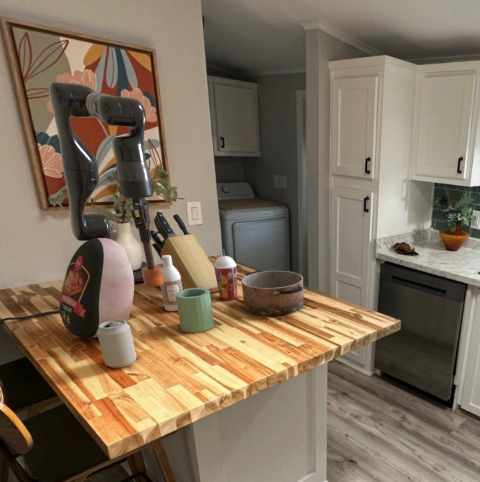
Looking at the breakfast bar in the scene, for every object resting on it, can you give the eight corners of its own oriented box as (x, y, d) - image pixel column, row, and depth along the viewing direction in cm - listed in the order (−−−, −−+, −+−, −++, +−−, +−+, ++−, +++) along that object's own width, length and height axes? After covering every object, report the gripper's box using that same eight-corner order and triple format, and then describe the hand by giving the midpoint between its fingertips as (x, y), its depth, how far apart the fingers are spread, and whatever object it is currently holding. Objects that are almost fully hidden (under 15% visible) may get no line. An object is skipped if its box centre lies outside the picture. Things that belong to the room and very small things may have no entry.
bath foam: (166, 313, 147) (156, 259, 140) (163, 306, 153) (154, 254, 145) (187, 309, 151) (178, 257, 143) (184, 303, 156) (175, 252, 149)
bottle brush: (143, 287, 119) (131, 225, 113) (146, 282, 123) (134, 222, 117) (162, 286, 121) (152, 225, 114) (164, 281, 125) (154, 222, 119)
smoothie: (244, 296, 166) (239, 248, 159) (230, 302, 159) (224, 252, 152) (227, 293, 169) (221, 245, 161) (213, 299, 161) (206, 250, 154)
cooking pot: (228, 301, 160) (225, 275, 156) (278, 289, 175) (276, 265, 171) (270, 324, 141) (267, 295, 137) (321, 309, 156) (320, 282, 152)
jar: (180, 334, 131) (174, 299, 127) (182, 322, 140) (176, 289, 136) (214, 330, 135) (209, 296, 131) (213, 319, 144) (209, 286, 139)
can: (114, 356, 117) (105, 317, 112) (142, 356, 117) (134, 317, 113) (99, 369, 110) (89, 329, 105) (129, 369, 110) (119, 328, 106)
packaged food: (55, 333, 129) (28, 239, 118) (122, 315, 144) (103, 230, 133) (86, 353, 118) (59, 251, 107) (154, 331, 133) (137, 240, 122)
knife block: (180, 275, 189) (169, 207, 178) (225, 291, 170) (216, 217, 159) (155, 280, 181) (142, 209, 169) (200, 298, 162) (188, 220, 150)
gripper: (123, 176, 116) (135, 237, 122) (113, 180, 104) (127, 247, 110) (153, 176, 118) (163, 236, 125) (146, 180, 106) (158, 246, 113)
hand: (146, 241), depth 117 cm, fingers closed on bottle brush
